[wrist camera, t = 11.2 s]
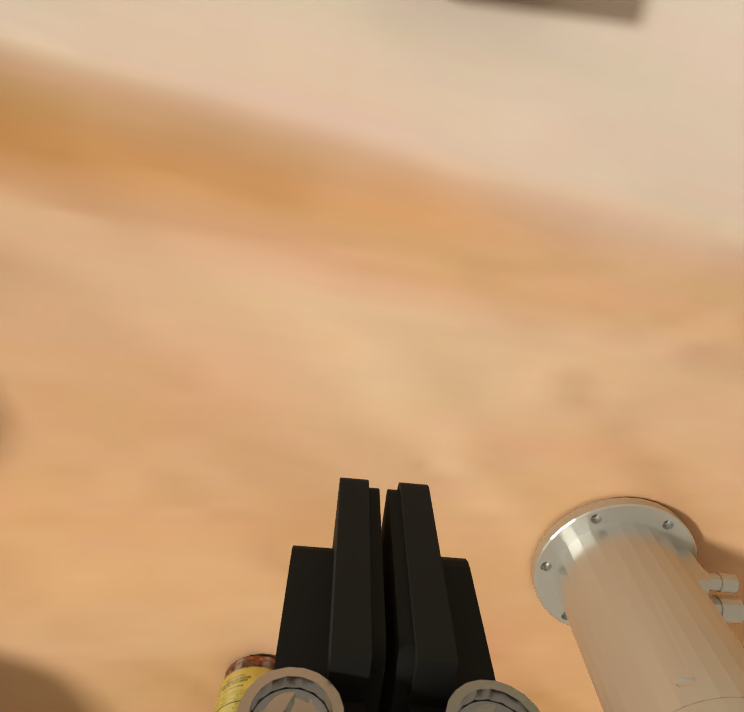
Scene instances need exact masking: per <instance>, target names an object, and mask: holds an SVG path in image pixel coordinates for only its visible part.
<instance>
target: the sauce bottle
mask: <svg viewBox="0 0 744 712" xmlns="http://www.w3.org/2000/svg"><path fill="white" fill-rule="evenodd" d="M274 665H275V658H274V657H266V656H260V655H254V656H247V657H244V658H242V659H240V660H237V661H236V662H235V663H233V664H232V665H231V666H230V667H229V668H228V670H227V671H226V676H225V679H224V681H223V683H222V685H221V688H220V691H219V695H218V699H217V703H216V707H215V711H214V712H236V711H237V708H238V705H239V703H240V701H241V699H242V697H243V695H244V694H245V692H246V690H247V688H248V687H249V686H250V685H251V684H253V683H254V682H255V681H256V680H257V679H258V678H259V677H261V676H263V675H265V674H267V673H269V672H271V671H272V670H274Z"/></svg>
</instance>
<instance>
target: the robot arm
mask: <svg viewBox="0 0 744 712" xmlns="http://www.w3.org/2000/svg"><path fill="white" fill-rule="evenodd" d="M531 575H532V581H533V585H534V588H535V591H536V594H537V597H538V599H539V600H540V602H541V604H542V605H543V607H544V608H545V609H546V610H547V611H548V612H549V613H550V614H551V615H552V616H553V617H555V618H556V619H557V620H559V621H560V622H562V623H565V624H567V625H569V626H570V627H571V629H572V632H573V634H574V637H575V639H576V642H577V644H578V647H579V650H580V652H581V655H582V657H583V660H584V662H585V665H586V667H587V670H588V673H589V675H590V678H591V680H592V683H593V685H594V688H595V690H596V693H597V696H598V698H599V701H600V703H601V706H602V708H603V711H604V712H744V647H743V645H742V644H741V642H740V641H739V640H738V638H737V637H736V635H735V634H734V632H733V631H732V629H731V628H730V626H729V625H728V624H727V622H728V623H741V622H743V620H744V604H743V602H742V600H741V599H740V598H739V597H734V596H721V595H712V596H708V593H709V590H716V591H718V592H732V593H736V592H737V591H738V589H739V581H738V578H737V576H736V575H734V574H731V573H718V572H717V573H707V571H706V570H705V569H703V568H702V567H701V565H700V564H699V563H698V561H697V548H696V544H695V541H694V538H693V536H692V535H691V533H690V531H689V530H688V528H687V527H686V526H685V524H684V523H683V522H682V521H681V519H680V518H679V517H678V516H677V515H676V514H674V513H673V512H672V511H671V510H669V509H668V508H666V507H664V506H662V505H660V504H658V503H656V502H652V501H648V500H644V499H640V498H628V497H622V498H609V499H605V500H601V501H596V502H593V503H590V504H587V505H585V506H582V507H580V508H578V509H576V510H574V511H572V512H571V513H569V514H567V515H566V516H564V517H563V518H562V519H560V520H559V521H558V522H557V523H555V524H554V525H553V526H552V527H551V528H550V529H549V531H548V532H547V533H546V534H545V535H544V536H543V538H542V540H541V541H540V543H539V545H538V546H537V548H536V551H535V554H534V557H533V560H532V569H531ZM236 712H540V711H539V710H538V708H537V706H536V705H535V704H534V703H533V702H532V701H531V700H530V699H529V698H528V697H526V696H525V695H524V694H523V693H521V692H520V691H518V690H516V689H515V688H513V687H512V686H509V685H507V684H504V683H501V682H498V681H496V680H495V676H494V672H493V667H492V663H491V658H490V654H489V650H488V645H487V641H486V636H485V632H484V628H483V623H482V619H481V615H480V610H479V606H478V601H477V597H476V593H475V588H474V584H473V579H472V575H471V571H470V567H469V564H468V561H467V560H466V559H462V558H449V557H441V555H440V549H439V543H438V538H437V532H436V526H435V520H434V514H433V508H432V502H431V497H430V491H429V486H428V485H423V484H411V483H399V485H398V489H397V490H390V489H388V490H387V494H386V501H385V508H384V515H383V522H382V529H381V514H380V492H379V489H378V488H369V480H363V479H351V478H340V483H339V492H338V501H337V511H336V520H335V529H334V539H333V548H319V547H306V546H293V547H292V553H291V559H290V566H289V573H288V579H287V586H286V592H285V599H284V606H283V612H282V619H281V625H280V632H279V639H278V645H277V652H276V658H275V665H274V670H272V671H271V672H269V673H267V674H265V675H263V676H261V677H259V678H258V679H257V680H256V681H255V682H254V683H253V684H251V685H250V686H249V687H248V688H247V690H246V692H245V694H244V695H243V697H242V699H241V701H240V703H239V705H238V708H237V711H236Z"/></svg>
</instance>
